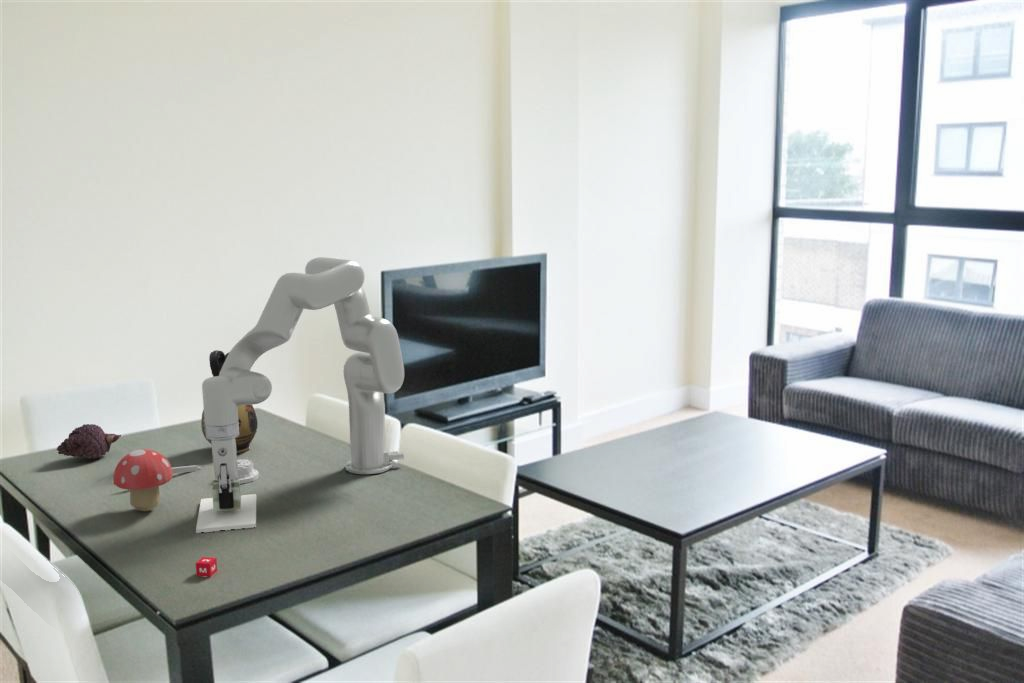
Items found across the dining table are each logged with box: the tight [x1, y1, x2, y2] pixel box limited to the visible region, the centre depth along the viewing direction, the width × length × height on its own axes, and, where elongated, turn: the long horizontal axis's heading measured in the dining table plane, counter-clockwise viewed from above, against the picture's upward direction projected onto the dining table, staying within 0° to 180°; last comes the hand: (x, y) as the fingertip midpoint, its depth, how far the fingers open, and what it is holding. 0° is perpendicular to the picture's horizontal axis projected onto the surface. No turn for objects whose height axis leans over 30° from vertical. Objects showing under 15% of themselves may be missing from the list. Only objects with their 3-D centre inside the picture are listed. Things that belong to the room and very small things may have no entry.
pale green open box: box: [211, 480, 242, 511], centre depth 226 cm, size 6×6×5 cm
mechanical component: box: [233, 458, 260, 485], centre depth 252 cm, size 10×4×10 cm
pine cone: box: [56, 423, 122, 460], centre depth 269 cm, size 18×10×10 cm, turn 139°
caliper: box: [172, 465, 203, 475], centre depth 252 cm, size 20×1×6 cm, turn 145°
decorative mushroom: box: [112, 448, 174, 512], centre depth 228 cm, size 13×13×15 cm
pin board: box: [195, 493, 257, 534], centre depth 226 cm, size 13×20×6 cm, turn 14°
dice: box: [195, 556, 218, 578], centre depth 195 cm, size 3×3×3 cm
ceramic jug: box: [200, 350, 259, 454], centre depth 273 cm, size 17×15×30 cm
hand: (227, 502), depth 226 cm, fingers closed on pale green open box, 5 cm apart
